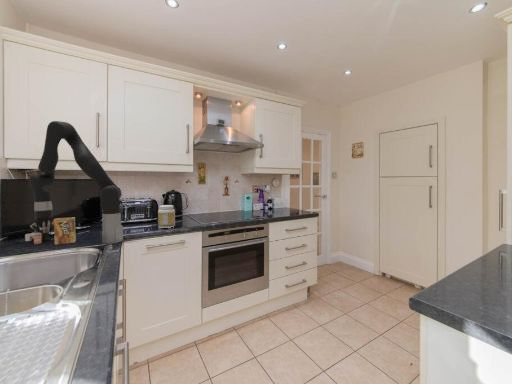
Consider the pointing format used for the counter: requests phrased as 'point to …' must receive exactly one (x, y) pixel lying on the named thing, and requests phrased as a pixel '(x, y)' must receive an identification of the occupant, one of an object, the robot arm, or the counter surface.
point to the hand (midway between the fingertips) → (45, 239)
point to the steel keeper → (29, 236)
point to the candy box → (64, 230)
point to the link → (37, 239)
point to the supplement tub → (166, 216)
